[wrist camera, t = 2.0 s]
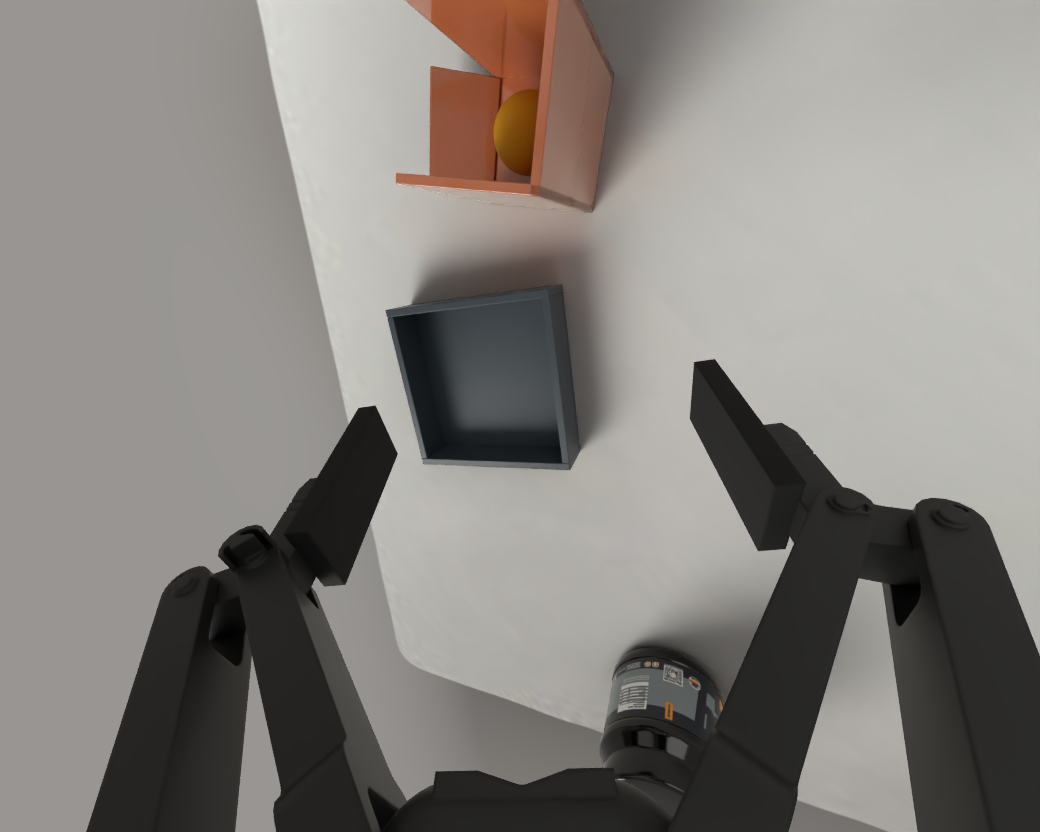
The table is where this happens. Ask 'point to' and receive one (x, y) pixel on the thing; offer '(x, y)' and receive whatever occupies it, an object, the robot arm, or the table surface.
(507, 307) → the tray
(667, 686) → the supplement container
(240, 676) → the robot arm
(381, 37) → the table surface
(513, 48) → the orange open box
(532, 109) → the ball
